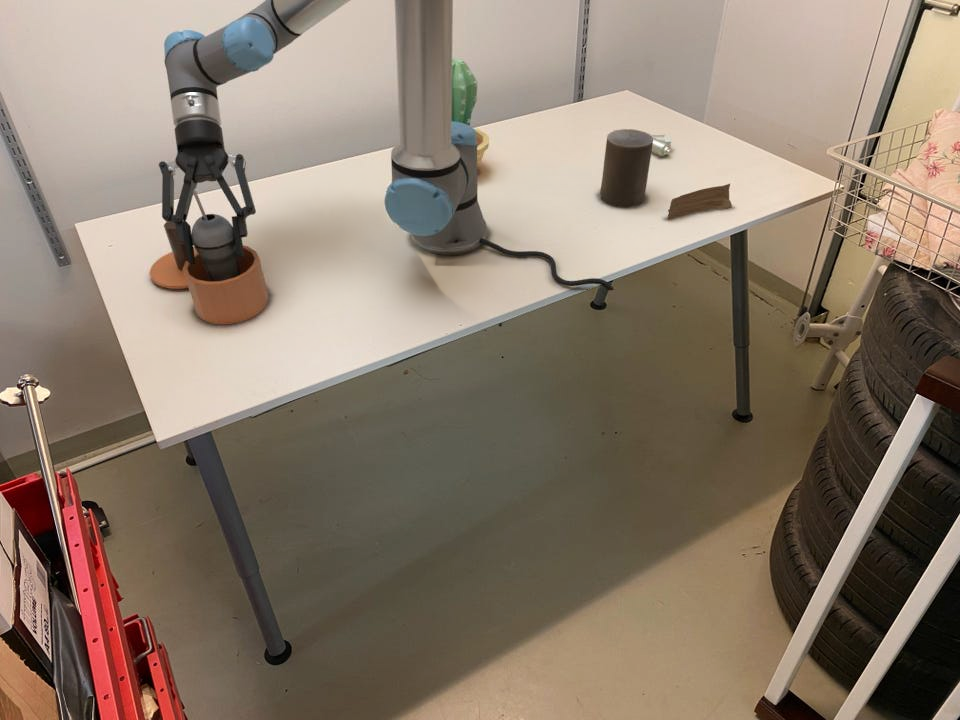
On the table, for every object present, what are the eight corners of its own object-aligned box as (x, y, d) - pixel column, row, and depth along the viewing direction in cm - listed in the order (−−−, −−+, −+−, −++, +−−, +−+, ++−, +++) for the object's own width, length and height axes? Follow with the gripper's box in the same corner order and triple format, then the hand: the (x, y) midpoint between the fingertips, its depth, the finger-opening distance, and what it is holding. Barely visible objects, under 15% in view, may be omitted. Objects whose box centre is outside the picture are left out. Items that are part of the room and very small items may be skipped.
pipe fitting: (671, 159, 175) (666, 146, 179) (674, 145, 172) (669, 131, 177) (638, 159, 175) (634, 146, 179) (640, 145, 172) (636, 131, 177)
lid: (239, 258, 142) (227, 211, 135) (199, 296, 132) (183, 248, 125) (180, 247, 145) (165, 201, 138) (136, 284, 135) (118, 236, 128)
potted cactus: (496, 161, 174) (496, 53, 158) (481, 190, 162) (481, 77, 146) (434, 155, 177) (428, 48, 160) (416, 183, 165) (408, 72, 149)
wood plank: (671, 222, 151) (675, 201, 148) (665, 218, 153) (669, 196, 149) (730, 207, 156) (736, 186, 152) (724, 203, 157) (729, 182, 154)
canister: (281, 289, 133) (272, 250, 128) (244, 330, 124) (232, 289, 119) (221, 278, 136) (210, 239, 131) (181, 317, 127) (167, 276, 122)
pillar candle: (625, 212, 154) (634, 145, 145) (590, 196, 160) (597, 130, 150) (653, 197, 159) (664, 132, 149) (619, 182, 165) (627, 118, 155)
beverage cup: (239, 308, 126) (211, 205, 113) (201, 303, 127) (168, 200, 114) (257, 284, 131) (232, 183, 118) (220, 280, 132) (191, 180, 119)
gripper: (127, 123, 116) (145, 261, 115) (255, 111, 120) (274, 246, 118) (142, 141, 124) (159, 271, 122) (262, 130, 127) (280, 257, 125)
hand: (215, 259), depth 120 cm, fingers closed on beverage cup, 7 cm apart
